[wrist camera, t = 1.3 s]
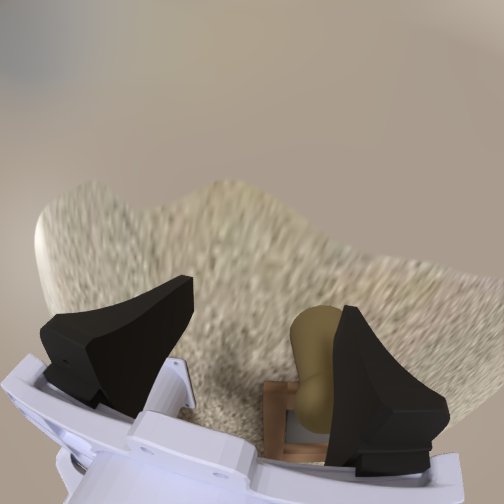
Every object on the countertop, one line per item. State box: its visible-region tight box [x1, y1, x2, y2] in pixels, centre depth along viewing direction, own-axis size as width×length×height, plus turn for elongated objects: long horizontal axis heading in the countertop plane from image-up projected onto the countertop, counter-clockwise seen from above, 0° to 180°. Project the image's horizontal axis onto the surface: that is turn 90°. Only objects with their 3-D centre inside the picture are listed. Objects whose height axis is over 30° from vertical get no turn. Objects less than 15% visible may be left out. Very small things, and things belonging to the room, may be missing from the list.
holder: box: [263, 381, 330, 462], centre depth 29 cm, size 15×15×2 cm
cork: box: [290, 306, 342, 434], centre depth 21 cm, size 6×6×11 cm
